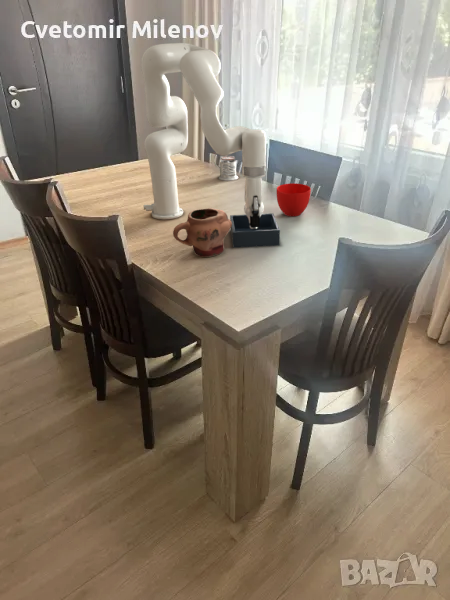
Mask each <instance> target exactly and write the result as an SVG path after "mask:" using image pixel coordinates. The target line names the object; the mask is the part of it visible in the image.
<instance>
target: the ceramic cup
mask: <svg viewBox="0 0 450 600" xmlns="http://www.w3.org/2000/svg"><path fill="white" fill-rule="evenodd" d="M311 192H312V188H311V187H310V186H309V185H307V184H304V183H296V182H295V183H294V182H293V183H284V184H280V185H278V186H277V187H276V202H277V205H278V207H279V209H280V211H281V212H282V213H283V214H284V215H285V216H287V217H298V216H301V215H302V213H303V212H304V211H305V210H306V209H307V208H308V206H309V202H310V199H311V194H312V193H311Z"/></svg>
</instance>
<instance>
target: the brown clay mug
mask: <svg viewBox="0 0 450 600" xmlns="http://www.w3.org/2000/svg"><path fill="white" fill-rule="evenodd" d="M231 226H232V222H231V220H230V218H229V217H228V214H227V213H226V212H225V211H224V210H222V209H217V208H212V207H211V208H210V207H209V208H199V209H194V210H192V211H190V212H189V213H188V214H187V219H186V221H184V222H180V223H179V224H177V225H175V227H174V228H173V230H172V235H173V238H174V240H176V241H178V242H179V243H181V244H182V245H186V246H188V247H192V249H193V253H194V254H195V255H197V256H198V257H202V258H209V257H215V256H218V255H220V254H222V253H223V252H224V251H225V243H224V240H225V238H226V236H227V235H228V233H229V232H230V231H231ZM183 230H185V231H186V237H185V239H181V238H179V236H178V235H179V232H180V231H183Z"/></svg>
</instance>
